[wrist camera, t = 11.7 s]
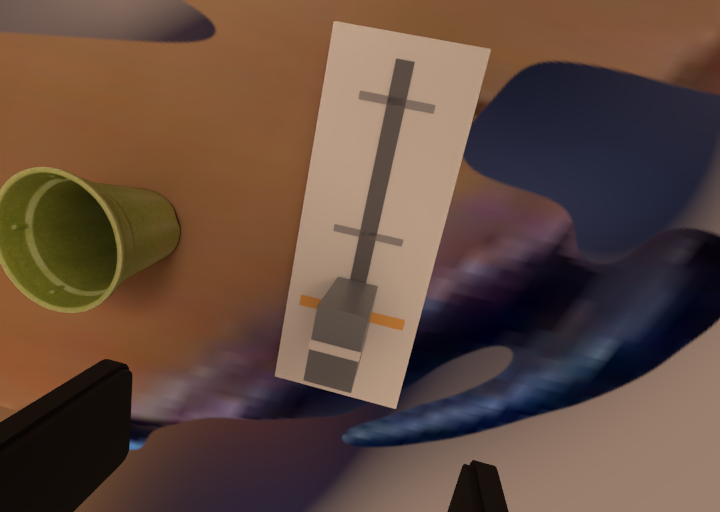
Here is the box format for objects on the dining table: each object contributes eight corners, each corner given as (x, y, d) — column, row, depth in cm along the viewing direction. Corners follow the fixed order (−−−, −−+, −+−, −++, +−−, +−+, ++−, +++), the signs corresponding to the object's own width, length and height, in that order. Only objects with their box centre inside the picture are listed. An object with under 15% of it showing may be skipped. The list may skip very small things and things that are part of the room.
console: (482, 62, 26) (491, 48, 23) (397, 387, 32) (395, 409, 29) (342, 37, 27) (333, 20, 24) (286, 358, 33) (274, 376, 30)
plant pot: (85, 244, 33) (-25, 268, 25) (118, 147, 31) (8, 138, 22) (175, 296, 33) (95, 338, 25) (215, 203, 31) (141, 215, 22)
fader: (378, 286, 27) (368, 318, 21) (364, 347, 28) (351, 394, 22) (337, 276, 27) (316, 305, 21) (325, 337, 28) (302, 381, 23)
